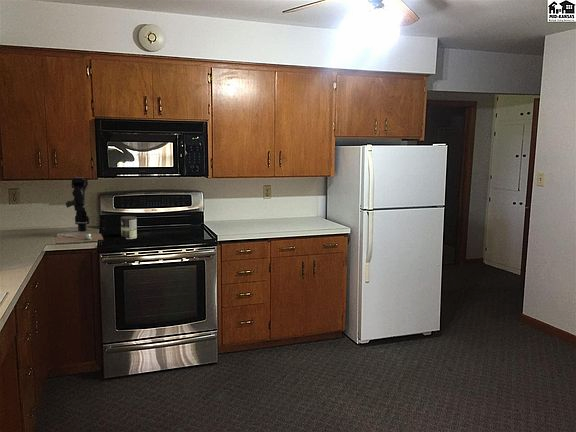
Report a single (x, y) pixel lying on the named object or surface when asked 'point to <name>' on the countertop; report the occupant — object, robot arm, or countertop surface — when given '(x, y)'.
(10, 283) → the countertop surface
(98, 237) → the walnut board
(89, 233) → the base
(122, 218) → the coffee can
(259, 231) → the countertop surface
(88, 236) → the tong arm
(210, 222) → the countertop surface
